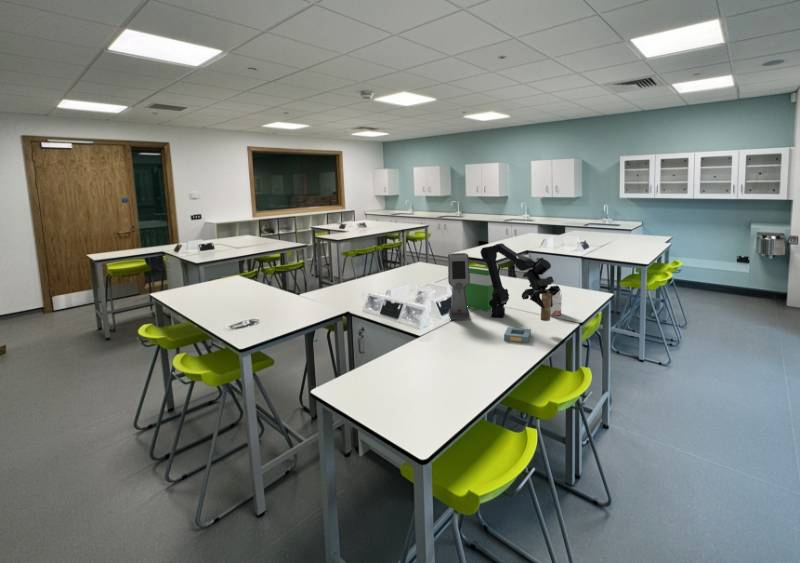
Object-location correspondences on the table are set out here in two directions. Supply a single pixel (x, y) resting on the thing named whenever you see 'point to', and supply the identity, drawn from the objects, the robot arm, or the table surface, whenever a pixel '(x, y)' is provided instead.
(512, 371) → the table surface
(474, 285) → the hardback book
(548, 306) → the walnut peg
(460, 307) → the thermal camera
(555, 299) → the ink cartridge box
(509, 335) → the socket block
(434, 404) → the table surface
